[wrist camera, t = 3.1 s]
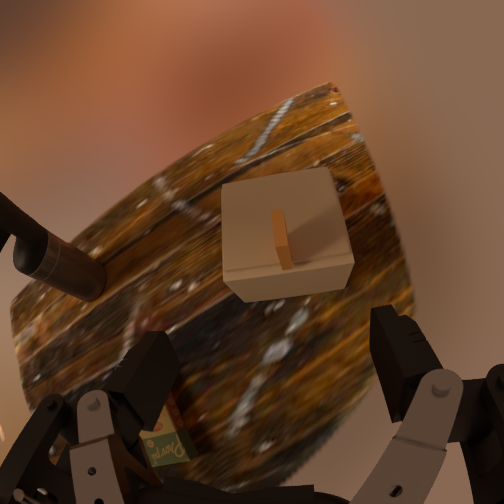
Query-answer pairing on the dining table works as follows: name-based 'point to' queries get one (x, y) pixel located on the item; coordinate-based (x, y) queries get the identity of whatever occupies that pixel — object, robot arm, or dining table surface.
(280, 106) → the dining table surface
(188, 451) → the carton
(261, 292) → the cardboard box
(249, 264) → the tan box lid
